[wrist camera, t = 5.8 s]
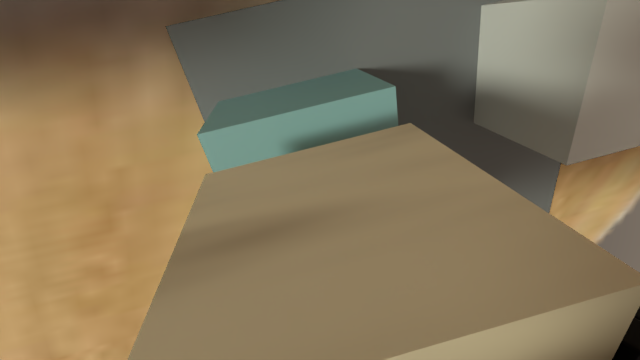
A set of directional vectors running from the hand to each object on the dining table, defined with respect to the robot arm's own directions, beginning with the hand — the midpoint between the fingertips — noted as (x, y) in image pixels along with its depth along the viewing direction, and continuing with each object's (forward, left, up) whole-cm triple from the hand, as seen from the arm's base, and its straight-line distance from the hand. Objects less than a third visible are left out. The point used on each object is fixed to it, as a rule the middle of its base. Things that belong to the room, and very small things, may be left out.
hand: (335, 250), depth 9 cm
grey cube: (+2, -13, -8) cm, 16 cm away
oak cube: (0, 0, -1) cm, 1 cm away
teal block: (0, 0, -8) cm, 8 cm away
